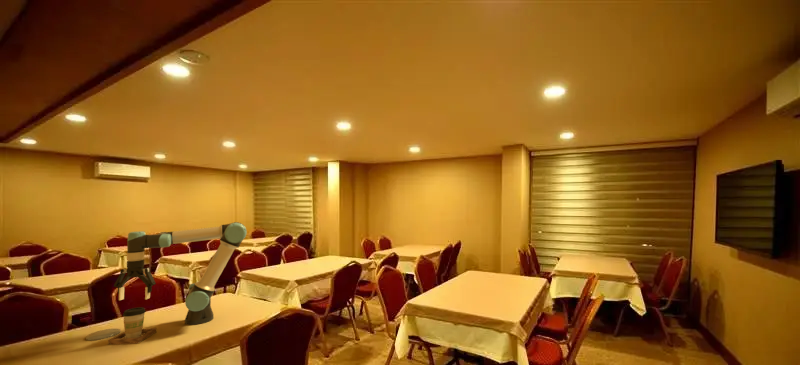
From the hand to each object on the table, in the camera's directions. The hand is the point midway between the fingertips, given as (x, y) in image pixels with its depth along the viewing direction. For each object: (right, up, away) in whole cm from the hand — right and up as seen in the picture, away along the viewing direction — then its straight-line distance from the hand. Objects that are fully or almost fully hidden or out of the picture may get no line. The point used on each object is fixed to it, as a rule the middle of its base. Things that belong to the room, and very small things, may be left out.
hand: (134, 299), depth 179 cm
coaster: (-20, -21, +3) cm, 29 cm away
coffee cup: (+1, -21, -1) cm, 21 cm away
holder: (+1, -21, -1) cm, 21 cm away
